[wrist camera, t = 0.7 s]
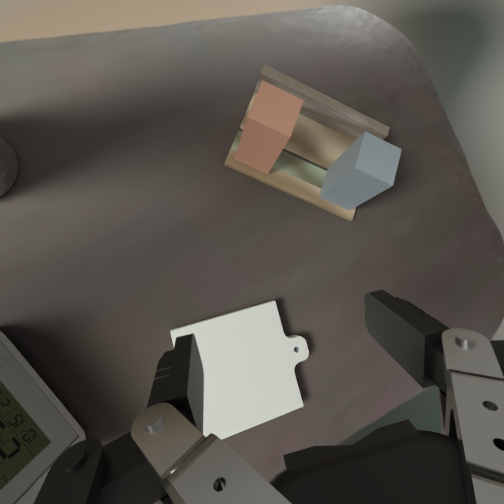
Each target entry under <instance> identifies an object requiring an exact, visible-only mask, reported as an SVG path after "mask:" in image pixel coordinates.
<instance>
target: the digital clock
mask: <svg viewBox="0 0 504 504" xmlns="http://www.w3.org/2000/svg"><path fill="white" fill-rule="evenodd" d="M83 440H86V436H85V433H84V431H83V429H82V428H81V427H80V425H79V424H78V423H77V421H76V420H75V419H74V418H73V417H72V415H71V414H70V413H69V412H68V410H67V409H66V408H65V407H64V406H63V404H62V403H61V402H60V401H59V399H58V398H57V397H56V396H55V395H54V393H53V392H52V391H51V390H50V388H49V387H48V386H47V385H46V384H45V382H44V381H43V380H42V379H41V378H40V376H39V375H38V374H37V373H36V371H35V370H34V369H33V368H32V367H31V365H30V364H29V363H28V362H27V361H26V359H25V358H24V357H23V356H22V354H21V353H20V352H19V351H18V350H17V348H16V347H15V346H14V345H13V344H12V342H11V341H10V340H9V339H8V338H7V337H6V336H5V334H4V333H3V332H1V331H0V504H34V502H35V499H36V497H37V495H38V493H39V491H40V489H41V487H42V485H43V483H44V480H45V478H46V476H47V474H48V472H49V470H50V468H51V466H52V465H53V463H54V462H55V461H56V460H57V458H58V457H59V456H60V455H61V454H62V453H63V452H65V451H66V450H67V449H68V448H70V447H71V446H73V445H74V444H76V443H78V442H80V441H83Z"/></svg>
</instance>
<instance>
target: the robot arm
mask: <svg viewBox="0 0 504 504" xmlns="http://www.w3.org/2000/svg"><path fill="white" fill-rule="evenodd" d="M17 174H18V160H17V156H16V154H15V152H14V150H13V149H12V148H11V146H10V145H9V144H8V143H7V142H6V141H4V140H3V139H2V138H1V137H0V197H1V196H2V195H4V194H5V193H6V192H7V191H8V190H9V189H10V188H11V186H12V185H13V183H14V182H15V180H16V177H17ZM365 320H366V327H367V329H368V332H369V333H370V335H371V336H372V337H373V338H374V339H375V340H376V341H377V342H378V343H379V344H380V345H381V346H382V347H383V348H384V349H385V350H386V351H387V352H388V353H389V354H390V355H391V356H392V357H393V358H394V359H395V360H396V361H397V362H398V363H399V364H400V365H401V366H402V367H403V368H404V369H405V370H406V371H407V372H408V373H409V374H410V375H411V376H412V377H413V378H414V379H415V380H416V381H417V382H418V384H419V385H420V386H421V387H422V388H426V387H430V386H433V385H436V386H437V387H438V388H439V395H438V396H439V405H440V414H441V423H442V433H443V434H440V433H436V432H431V431H422V430H416V428H415V427H414V426H413V425H412V423H411V422H410V421H409V420H404V421H401V422H397V423H394V424H391V425H387V426H384V427H380V428H378V429H376V430H375V431H373V432H372V433H370V434H369V435H367V436H365V437H364V438H363V439H361V440H359V441H358V442H356V443H355V444H353V445H348V446H347V445H344V446H313V447H310V448H306V449H303V450H300V451H296V452H293V453H289V454H286V455H284V461H285V466H286V468H284V469H283V470H281V471H280V472H279V473H277V474H276V475H275V476H274V477H273V478H272V479H271V480H270V481H269V482H267V481H266V480H265V479H264V478H263V477H262V476H261V475H259V474H258V473H257V472H256V471H255V470H254V469H253V468H252V467H251V466H250V465H248V464H247V463H246V462H245V461H244V460H243V459H242V458H241V457H240V456H238V455H237V454H236V453H235V452H234V451H233V450H232V449H231V448H230V447H229V446H227V445H226V444H225V443H224V442H223V441H222V440H221V439H220V438H219V437H217V436H216V435H215V434H213V433H210V434H209V435H208V436H207V437H205V436H204V435H203V408H204V371H203V365H202V361H201V357H200V353H199V349H198V346H197V342H196V338H195V335H194V334H193V333H192V334H188V335H184V336H179V337H176V341H175V346H174V350H171V351H167V352H165V353H164V355H163V356H162V357H161V359H160V360H159V362H158V366H157V370H156V371H157V372H156V374H155V380H154V382H153V386H152V390H151V394H150V397H149V401H148V405H147V409H145V410H144V411H143V412H142V413H140V414H139V415H138V417H137V418H136V419H135V421H134V422H133V425H132V428H131V431H130V432H128V433H127V434H125V435H124V436H122V437H120V438H118V439H116V440H114V441H113V442H111V443H109V444H107V445H105V446H102V444H101V443H100V441H98V440H96V439H86V440H83V441H80V442H78V443H76V444H74V445H73V446H71V447H70V448H68V449H67V450H66V451H65V452H63V453H62V454H61V455H60V456H59V457H58V458H57V460H56V461H55V462H54V463H53V465H52V466H51V468H50V470H49V472H48V474H47V476H46V478H45V480H44V483H43V485H42V487H41V489H40V491H39V493H38V495H37V497H36V499H35V502H34V504H153V503H155V502H156V501H159V503H160V504H504V340H500V341H498V340H497V341H489V340H488V339H487V338H486V337H484V336H483V335H481V334H479V333H477V332H474V331H471V330H467V329H460V328H454V329H450V328H449V327H447V326H445V325H444V324H442V323H441V322H439V321H438V320H436V319H435V318H433V317H432V316H430V315H429V314H426V313H425V312H424V311H422V310H421V309H418V307H416V306H415V305H413V304H412V303H410V302H409V301H406V300H403V299H400V298H397V297H396V298H394V297H393V296H392V295H390V294H389V293H387V292H386V291H384V290H379V291H374V292H370V293H366V294H365Z"/></svg>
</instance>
